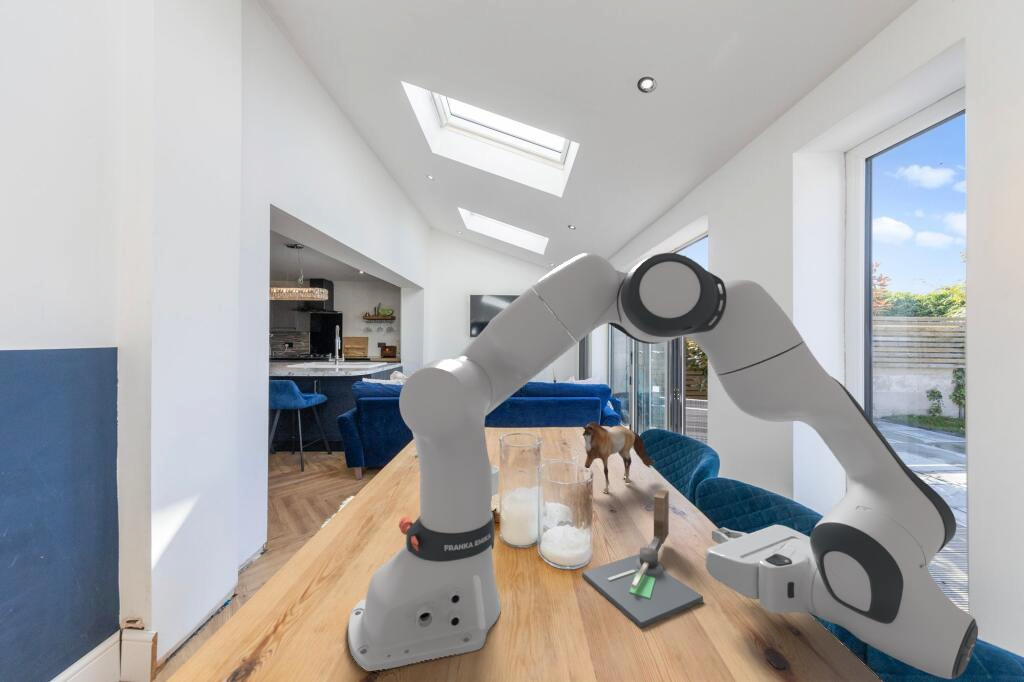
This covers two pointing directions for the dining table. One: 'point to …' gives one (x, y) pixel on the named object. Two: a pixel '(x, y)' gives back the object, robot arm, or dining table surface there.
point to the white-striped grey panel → (642, 590)
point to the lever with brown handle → (655, 535)
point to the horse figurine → (613, 447)
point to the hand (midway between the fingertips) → (716, 533)
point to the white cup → (495, 480)
